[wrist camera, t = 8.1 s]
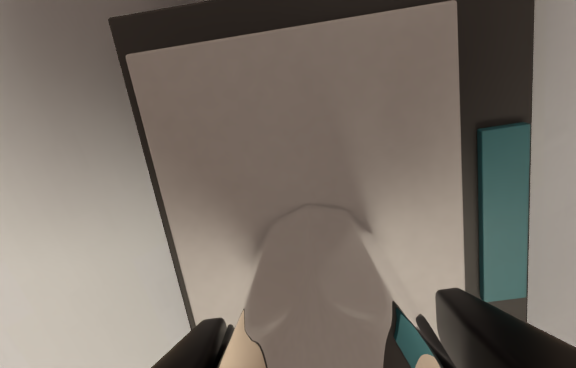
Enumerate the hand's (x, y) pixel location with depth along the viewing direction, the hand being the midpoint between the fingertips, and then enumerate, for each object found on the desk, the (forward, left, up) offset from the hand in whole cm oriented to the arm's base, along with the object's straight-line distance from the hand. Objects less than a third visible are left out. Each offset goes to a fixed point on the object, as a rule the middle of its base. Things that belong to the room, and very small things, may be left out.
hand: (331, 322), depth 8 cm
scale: (-1, 0, -6) cm, 6 cm away
